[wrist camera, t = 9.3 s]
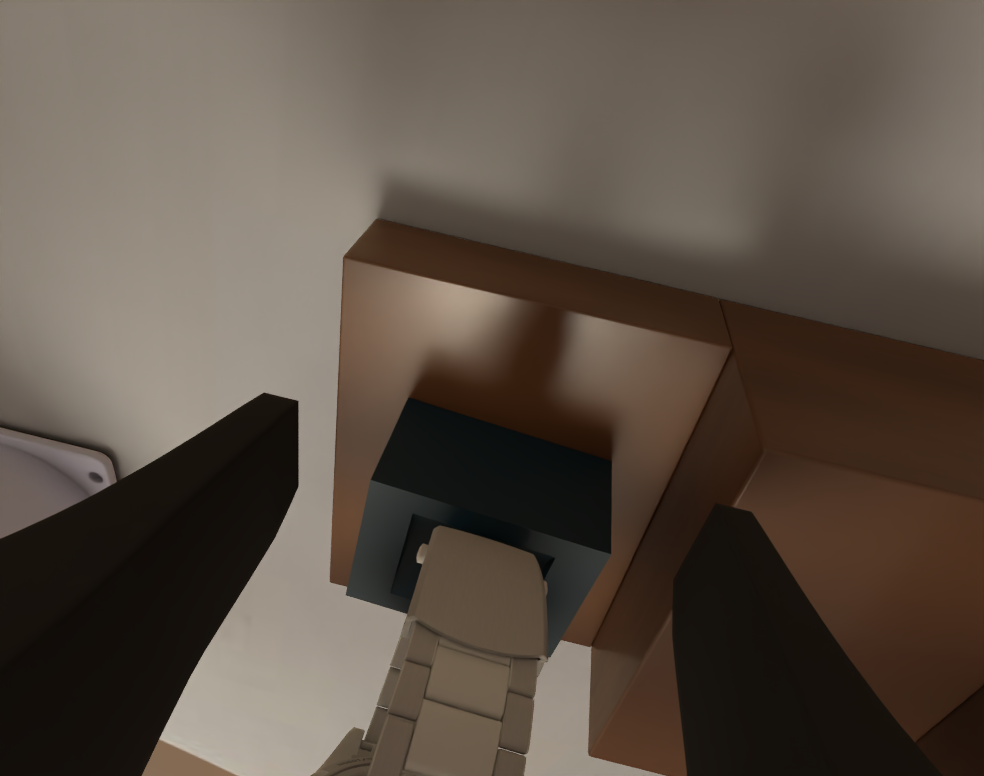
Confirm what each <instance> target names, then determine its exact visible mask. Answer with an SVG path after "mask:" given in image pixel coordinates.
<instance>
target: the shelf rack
mask: <svg viewBox="0 0 984 776" xmlns="http://www.w3.org/2000/svg"><path fill="white" fill-rule="evenodd" d="M408 397H409V398H412V399H415V400H418V401H422V402H425V403H428V404H431V405H434V406H437V407H441V408H444V409H447V410H450V411H453V412H457V413H460V414H463V415H466V416H469V417H472V418H476V419H479V420H482V421H485V422H488V423H492V424H495V425H498V426H501V427H504V428H508V429H511V430H514V431H517V432H520V433H523V434H527V435H530V436H533V437H536V438H539V439H543V440H546V441H549V442H552V443H555V444H558V445H562V446H565V447H568V448H571V449H574V450H578V451H581V452H584V453H587V454H590V455H594V456H597V457H600V458H603V459H606V460H609V461H612V527H611V556H610V558H609V559H608V561H607V563H606V564H605V566H604V568H603V569H602V571H601V573H600V574H599V576H598V578H597V579H596V581H595V583H594V585H593V586H592V588H591V590H590V591H589V593H588V595H587V596H586V598H585V600H584V601H583V603H582V605H581V606H580V608H579V610H578V611H577V613H576V615H575V616H574V618H573V620H572V621H571V623H570V625H569V627H568V628H567V630H566V632H565V633H564V635H563V637H562V638H561V640H564V641H568V642H572V643H576V644H580V645H584V646H588V647H591V645H592V651H591V682H590V713H589V743H588V754H589V756H591V757H595V758H599V759H603V760H607V761H611V762H615V763H619V764H622V765H626V766H630V767H634V768H638V769H642V770H646V771H650V772H654V773H658V774H662V775H666V776H687V769H686V760H685V751H684V742H683V733H682V724H681V715H680V706H679V698H678V689H677V679H676V670H675V660H674V651H673V640H672V605H673V579H674V577H675V575H676V573H677V572H678V570H679V568H680V566H681V564H682V563H683V561H684V559H685V557H686V555H687V554H688V552H689V550H690V548H691V546H692V545H693V543H694V541H695V539H696V537H697V536H698V534H699V532H700V530H701V528H702V527H703V525H704V523H705V521H706V519H707V518H708V516H709V514H710V512H711V510H712V509H713V507H714V505H715V503H718V504H722V505H726V506H730V507H735V508H739V509H743V510H747V511H751V512H752V513H753V514H754V516H755V517H756V519H757V520H758V522H759V523H760V525H761V526H762V528H763V529H764V531H765V533H766V534H767V536H768V537H769V539H770V540H771V542H772V544H773V545H774V547H775V548H776V550H777V551H778V553H779V555H780V556H781V558H782V559H783V561H784V562H785V564H786V566H787V567H788V569H789V570H790V572H791V573H792V575H793V576H794V578H795V580H796V581H797V583H798V584H799V586H800V587H801V589H802V590H803V592H804V593H805V595H806V596H807V598H808V599H809V601H810V603H811V604H812V605H813V607H814V608H815V610H816V611H817V613H818V614H819V616H820V617H821V619H822V620H823V622H824V623H825V625H826V626H827V628H828V629H829V631H830V632H831V633H832V635H833V636H834V638H835V639H836V641H837V642H838V643H839V645H840V646H841V648H842V649H843V650H844V652H845V653H846V655H847V656H848V657H849V659H850V660H851V662H852V663H853V664H854V666H855V667H856V668H857V670H858V671H859V672H860V674H861V675H862V676H863V678H864V679H865V680H866V682H867V683H868V684H869V686H870V687H871V688H872V690H873V691H874V692H875V694H876V695H877V696H878V698H879V699H880V700H881V702H882V703H883V704H884V705H885V707H886V708H887V709H888V710H889V712H890V713H891V714H892V715H893V717H894V718H895V719H896V720H897V722H898V723H899V724H900V725H901V727H902V728H903V729H904V730H905V731H906V733H907V734H908V735H909V736H910V737H911V738H912V740H913V741H914V742H915V743H916V744H917V746H918V747H919V748H920V749H921V750H922V752H923V753H924V754H925V755H926V756H927V758H928V759H929V760H930V761H931V762H932V763H933V765H934V766H935V767H936V768H937V769H938V771H939V772H940V773H941V774H942V775H943V776H984V361H983V360H978V359H974V358H970V357H965V356H961V355H957V354H953V353H948V352H944V351H940V350H935V349H931V348H927V347H922V346H918V345H914V344H910V343H905V342H901V341H897V340H892V339H888V338H884V337H880V336H875V335H871V334H867V333H862V332H858V331H854V330H850V329H845V328H841V327H837V326H832V325H828V324H824V323H820V322H815V321H811V320H807V319H802V318H798V317H794V316H790V315H785V314H781V313H777V312H772V311H768V310H764V309H760V308H755V307H751V306H747V305H742V304H738V303H734V302H730V301H725V300H720V301H719V300H718V299H717V298H714V297H710V296H706V295H701V294H697V293H693V292H689V291H684V290H680V289H676V288H671V287H667V286H663V285H659V284H654V283H650V282H646V281H641V280H637V279H633V278H629V277H624V276H620V275H616V274H611V273H607V272H603V271H599V270H594V269H590V268H586V267H581V266H577V265H573V264H569V263H564V262H560V261H556V260H551V259H547V258H543V257H539V256H534V255H530V254H526V253H521V252H517V251H513V250H508V249H504V248H500V247H496V246H491V245H487V244H483V243H478V242H474V241H470V240H466V239H461V238H457V237H453V236H448V235H444V234H440V233H436V232H431V231H427V230H423V229H418V228H414V227H410V226H406V225H401V224H397V223H393V222H388V221H384V220H380V219H376V220H375V221H374V222H373V223H372V224H371V226H370V227H369V228H368V229H367V230H366V231H365V232H364V234H363V235H362V236H361V237H360V238H359V239H358V240H357V242H356V243H355V244H354V245H353V246H352V247H351V248H350V250H349V251H348V252H347V253H346V254H345V255H344V257H343V277H342V301H341V325H340V349H339V373H338V396H337V420H336V444H335V468H334V492H333V516H332V539H331V563H330V582H331V583H335V584H339V585H343V586H347V587H348V582H349V578H350V573H351V568H352V564H353V559H354V554H355V550H356V545H357V540H358V536H359V531H360V526H361V522H362V517H363V512H364V508H365V503H366V498H367V494H368V489H369V484H370V480H371V478H372V475H373V473H374V471H375V469H376V467H377V464H378V462H379V460H380V458H381V456H382V454H383V451H384V449H385V447H386V445H387V443H388V440H389V438H390V436H391V434H392V432H393V429H394V427H395V425H396V423H397V421H398V419H399V416H400V414H401V412H402V410H403V408H404V405H405V403H406V401H407V399H408Z"/></svg>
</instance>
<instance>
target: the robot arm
mask: <svg viewBox="0 0 984 776" xmlns="http://www.w3.org/2000/svg"><path fill="white" fill-rule="evenodd" d="M297 489H298V401H296V400H292V399H288V398H284V397H280V396H276V395H272V394H267V393H263V394H261V395H259V396H258V397H256V398H254V399H253V400H251V401H249V402H248V403H246V404H244V405H243V406H241V407H240V408H238V409H237V410H235V411H233V412H232V413H230V414H229V415H227V416H226V417H224V418H223V419H221V420H219V421H218V422H216V423H215V424H213V425H212V426H210V427H208V428H207V429H205V430H204V431H202V432H200V433H199V434H197V435H196V436H194V437H193V438H191V439H189V440H188V441H186V442H184V443H183V444H181V445H179V446H178V447H176V448H174V449H173V450H171V451H170V452H168V453H166V454H165V455H163V456H161V457H160V458H158V459H156V460H155V461H153V462H151V463H150V464H148V465H146V466H145V467H143V468H141V469H139V470H137V471H136V472H134V473H132V474H130V475H128V476H127V477H125V478H123V479H121V480H119V481H118V482H117V480H116V476H115V472H114V468H113V464H112V462H111V460H110V459H109V458H108V456H106V455H105V454H103V453H101V452H98V451H94V450H90V449H86V448H82V447H78V446H74V445H70V444H66V443H62V442H58V441H54V440H49V439H45V438H41V437H37V436H33V435H29V434H25V433H21V432H17V431H13V430H9V429H5V428H1V427H0V776H142V774H143V771H144V769H145V767H146V765H147V763H148V761H149V759H150V757H151V755H152V753H153V751H154V748H155V746H156V744H157V742H158V740H159V738H160V736H161V734H162V732H163V730H164V728H165V726H166V724H167V722H168V720H169V718H170V716H171V714H172V712H173V710H174V708H175V706H176V704H177V702H178V700H179V698H180V696H181V694H182V692H183V690H184V688H185V686H186V684H187V682H188V680H189V678H190V676H191V674H192V672H193V671H194V669H195V667H196V665H197V664H198V662H199V660H200V658H201V657H202V655H203V653H204V651H205V650H206V648H207V647H208V645H209V643H210V642H211V640H212V639H213V637H214V635H215V634H216V632H217V631H218V629H219V627H220V626H221V624H222V623H223V621H224V619H225V618H226V616H227V614H228V613H229V611H230V610H231V608H232V606H233V605H234V603H235V602H236V600H237V598H238V597H239V595H240V594H241V592H242V590H243V589H244V587H245V586H246V584H247V582H248V581H249V579H250V578H251V576H252V574H253V573H254V571H255V570H256V568H257V566H258V565H259V563H260V561H261V560H262V558H263V557H264V555H265V553H266V552H267V550H268V548H269V547H270V545H271V543H272V542H273V540H274V538H275V537H276V534H277V532H278V530H279V528H280V526H281V524H282V522H283V520H284V518H285V515H286V513H287V511H288V509H289V507H290V504H291V502H292V500H293V498H294V495H295V493H296V491H297ZM672 640H673V651H674V660H675V670H676V679H677V689H678V698H679V706H680V715H681V724H682V733H683V742H684V751H685V760H686V769H687V776H943V775H942V774H941V773H940V772H939V771H938V769H937V768H936V767H935V766H934V765H933V763H932V762H931V761H930V760H929V759H928V758H927V756H926V755H925V754H924V753H923V752H922V750H921V749H920V748H919V747H918V746H917V744H916V743H915V742H914V741H913V740H912V738H911V737H910V736H909V735H908V734H907V733H906V731H905V730H904V729H903V728H902V727H901V725H900V724H899V723H898V722H897V720H896V719H895V718H894V717H893V715H892V714H891V713H890V712H889V710H888V709H887V708H886V707H885V705H884V704H883V703H882V702H881V700H880V699H879V698H878V696H877V695H876V694H875V692H874V691H873V690H872V688H871V687H870V686H869V684H868V683H867V682H866V680H865V679H864V678H863V676H862V675H861V674H860V672H859V671H858V670H857V668H856V667H855V666H854V664H853V663H852V662H851V660H850V659H849V657H848V656H847V655H846V653H845V652H844V650H843V649H842V648H841V646H840V645H839V643H838V642H837V641H836V639H835V638H834V636H833V635H832V633H831V632H830V631H829V629H828V628H827V626H826V625H825V623H824V622H823V620H822V619H821V617H820V616H819V614H818V613H817V611H816V610H815V608H814V607H813V605H812V604H811V603H810V601H809V599H808V598H807V596H806V595H805V593H804V592H803V590H802V589H801V587H800V586H799V584H798V583H797V581H796V580H795V578H794V576H793V575H792V573H791V572H790V570H789V569H788V567H787V566H786V564H785V562H784V561H783V559H782V558H781V556H780V555H779V553H778V551H777V550H776V548H775V547H774V545H773V544H772V542H771V540H770V539H769V537H768V536H767V534H766V533H765V531H764V529H763V528H762V526H761V525H760V523H759V522H758V520H757V519H756V517H755V516H754V514H753V513H752V512H751V511H747V510H743V509H739V508H735V507H730V506H726V505H722V504H718V503H715V505H714V507H713V509H712V510H711V512H710V514H709V516H708V518H707V519H706V521H705V523H704V525H703V527H702V528H701V530H700V532H699V534H698V536H697V537H696V539H695V541H694V543H693V545H692V546H691V548H690V550H689V552H688V554H687V555H686V557H685V559H684V561H683V563H682V564H681V566H680V568H679V570H678V572H677V573H676V575H675V577H674V579H673V605H672Z"/></svg>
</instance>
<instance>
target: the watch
mask: <svg viewBox="0 0 984 776" xmlns="http://www.w3.org/2000/svg"><path fill="white" fill-rule="evenodd" d="M611 527H612V461H609V460H606V459H603V458H600V457H597V456H594V455H590V454H587V453H584V452H581V451H578V450H574V449H571V448H568V447H565V446H562V445H558V444H555V443H552V442H549V441H546V440H543V439H539V438H536V437H533V436H530V435H527V434H523V433H520V432H517V431H514V430H511V429H508V428H504V427H501V426H498V425H495V424H492V423H488V422H485V421H482V420H479V419H476V418H472V417H469V416H466V415H463V414H460V413H457V412H453V411H450V410H447V409H444V408H441V407H437V406H434V405H431V404H428V403H425V402H422V401H418V400H415V399H412V398H409V397H408V399H407V401H406V403H405V405H404V408H403V410H402V412H401V414H400V416H399V419H398V421H397V423H396V425H395V427H394V429H393V432H392V434H391V436H390V438H389V440H388V443H387V445H386V447H385V449H384V451H383V454H382V456H381V458H380V460H379V462H378V464H377V467H376V469H375V471H374V473H373V475H372V478H371V480H370V484H369V489H368V494H367V498H366V503H365V508H364V512H363V517H362V522H361V526H360V531H359V536H358V540H357V545H356V550H355V554H354V559H353V564H352V568H351V573H350V578H349V582H348V587H347V592H346V595H347V596H350V597H354V598H357V599H360V600H364V601H367V602H370V603H373V604H377V605H380V606H383V607H387V608H390V609H393V610H396V611H400V612H403V613H406V614H407V617H406V620H405V623H404V626H403V629H402V633H401V636H400V639H399V642H398V645H397V647H396V650H395V653H394V656H393V658H392V661H391V664H390V666H393V667H396V668H393V667H390V669H389V671H388V674H387V677H386V680H385V683H384V685H383V688H382V691H381V694H380V696H379V699H378V702H377V705H379V706H382V707H385V708H388V709H384V708H381V707H376V709H375V712H374V715H373V718H372V720H371V723H370V726H369V729H368V732H367V734H366V737H365V740H362V738H363V735H364V730H362V729H358V728H355V727H354V728H353V729H352V730H350V731H349V732H348V733H347V735H346V736H345V737H344V739H343V740H342V741H341V742H340V744H339V745H338V746H337V748H336V749H335V750H334V751H333V753H332V754H331V755H330V757H329V758H328V759H327V760H326V761H325V763H324V764H323V765H322V766H321V767H320V768H319V769H318V770H317V771H316V772H315V773H314V774H312V775H311V776H524V771H525V764H526V757H525V756H523V755H524V754H527V753H528V750H529V745H530V737H531V728H532V719H533V710H534V700H533V698H534V696H535V692H536V681H537V677H538V676H539V674H540V672H541V669H542V667H543V665H544V663H545V662H547V661H548V657H551V655H552V653H553V652H554V650H555V648H556V647H557V645H558V643H559V642H560V640H561V638H562V637H563V635H564V633H565V632H566V630H567V628H568V627H569V625H570V623H571V621H572V620H573V618H574V616H575V615H576V613H577V611H578V610H579V608H580V606H581V605H582V603H583V601H584V600H585V598H586V596H587V595H588V593H589V591H590V590H591V588H592V586H593V585H594V583H595V581H596V579H597V578H598V576H599V574H600V573H601V571H602V569H603V568H604V566H605V564H606V563H607V561H608V559H609V558H610V556H611ZM397 668H400V669H401V670H400V669H397ZM498 747H500V748H503V749H507V750H510V751H513V752H517V753H520V754H523V755H519V754H516V753H513V752H509V751H506V750H503V749H498Z"/></svg>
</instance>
